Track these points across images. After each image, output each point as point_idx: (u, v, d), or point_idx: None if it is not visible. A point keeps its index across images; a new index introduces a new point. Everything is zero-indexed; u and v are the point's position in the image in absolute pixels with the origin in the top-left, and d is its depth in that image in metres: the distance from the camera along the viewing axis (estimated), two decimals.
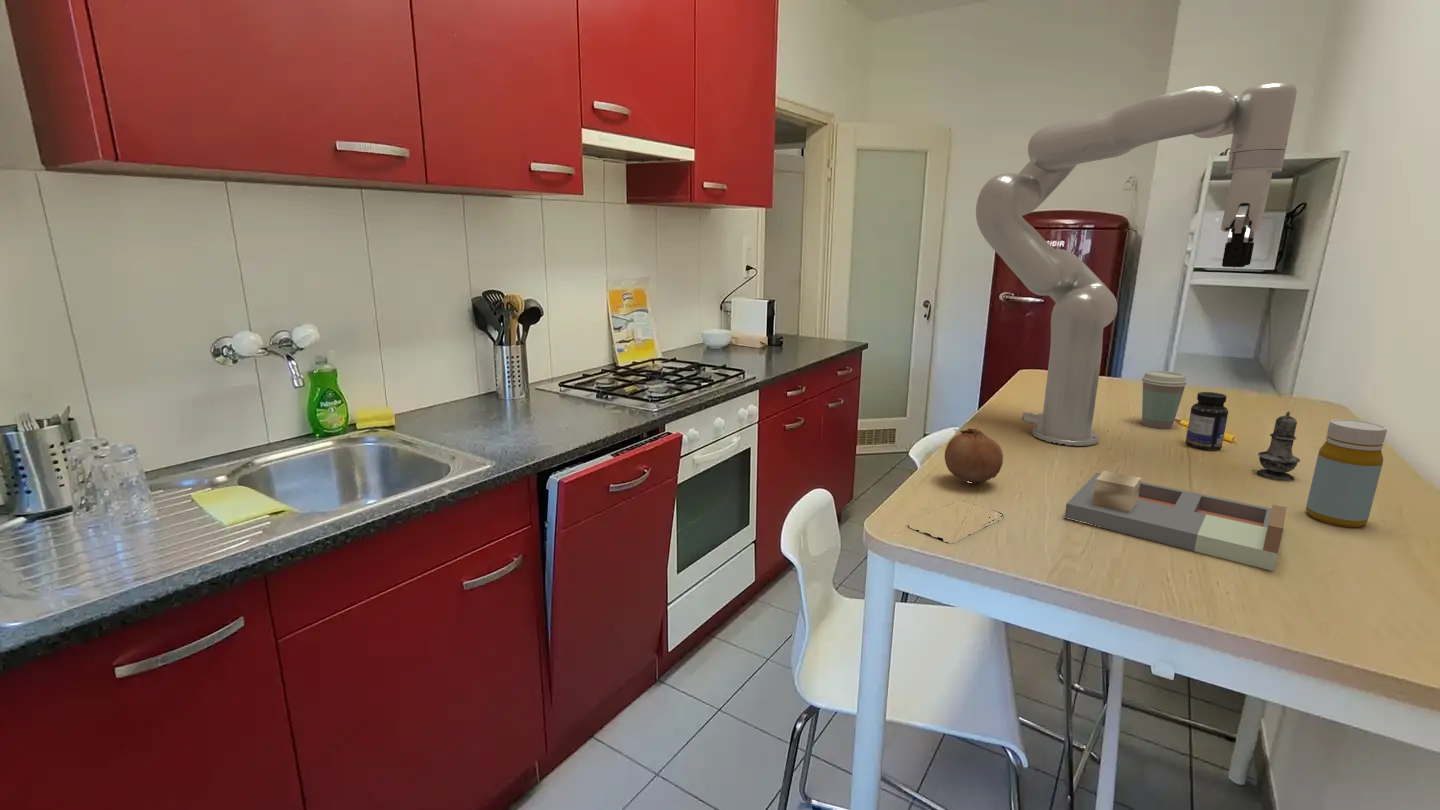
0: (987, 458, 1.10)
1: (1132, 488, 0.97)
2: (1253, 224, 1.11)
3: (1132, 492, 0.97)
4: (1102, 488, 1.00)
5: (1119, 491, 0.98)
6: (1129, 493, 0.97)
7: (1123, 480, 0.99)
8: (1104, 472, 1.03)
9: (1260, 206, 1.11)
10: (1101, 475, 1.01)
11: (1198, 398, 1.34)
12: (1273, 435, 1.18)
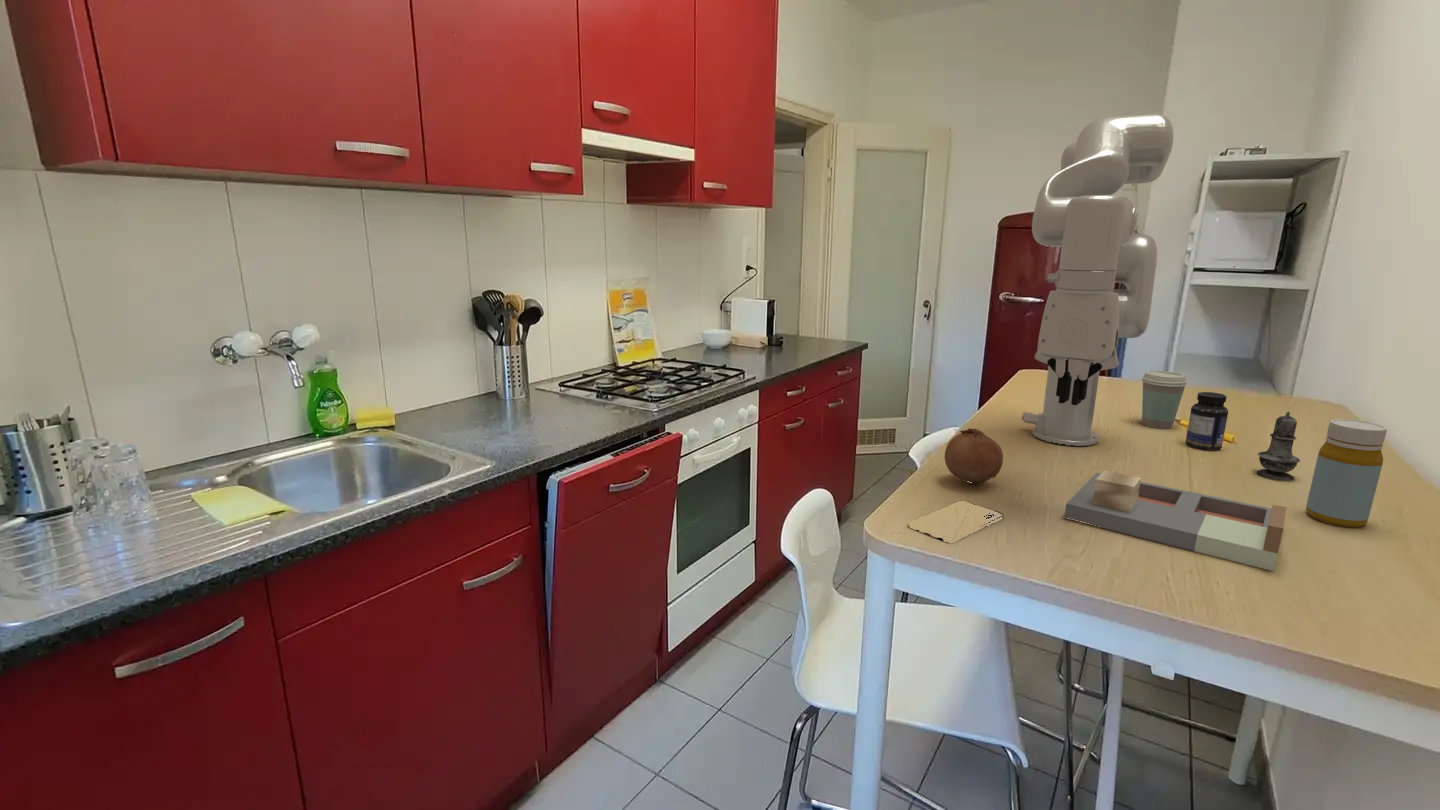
0: (987, 458, 1.10)
1: (1132, 488, 0.97)
2: None
3: (1132, 492, 0.97)
4: (1102, 488, 1.00)
5: (1119, 491, 0.98)
6: (1129, 493, 0.97)
7: (1123, 480, 0.99)
8: (1104, 472, 1.03)
9: None
10: (1101, 475, 1.01)
11: (1198, 398, 1.34)
12: (1273, 435, 1.18)
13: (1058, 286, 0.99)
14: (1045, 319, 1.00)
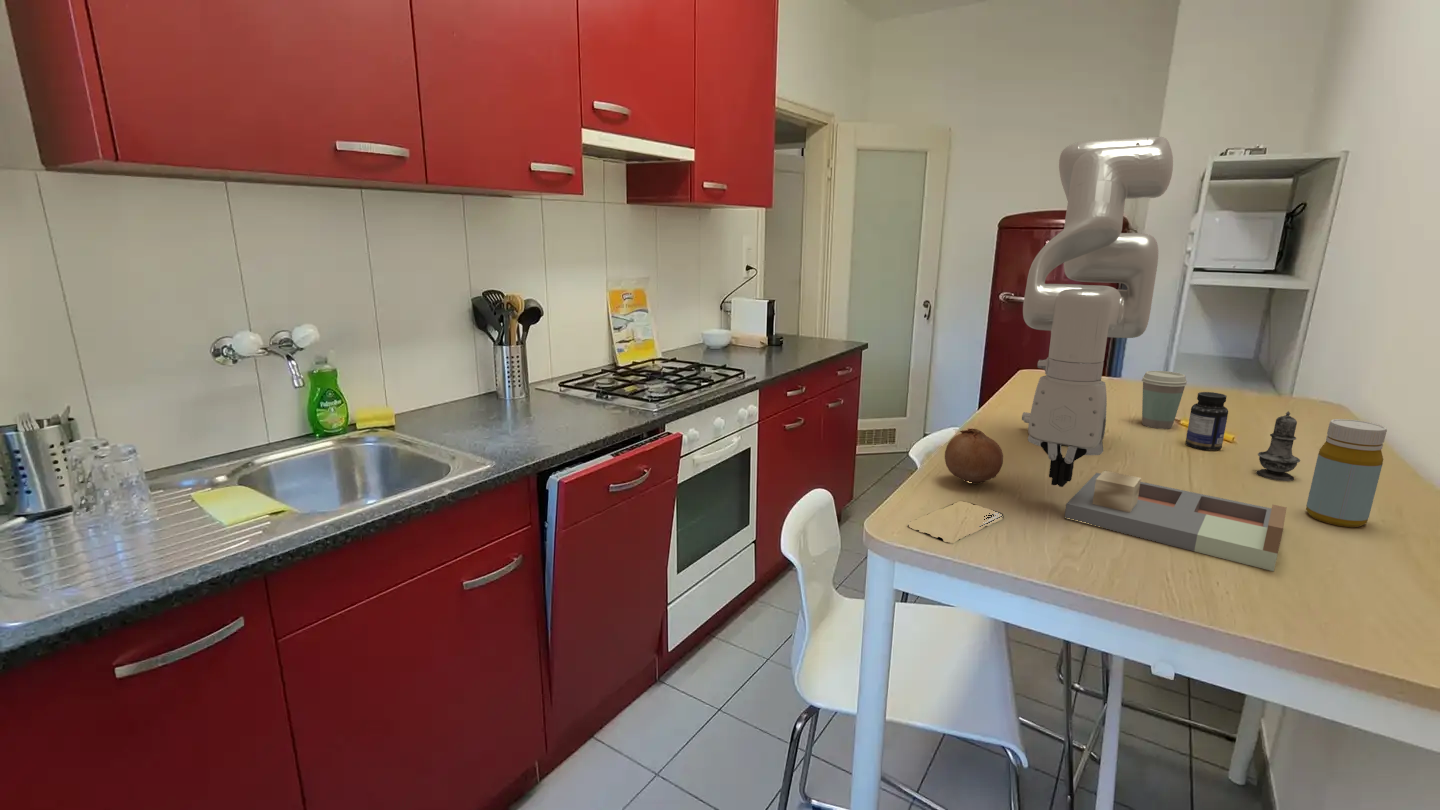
0: (987, 458, 1.10)
1: (1132, 488, 0.97)
2: (1102, 437, 1.02)
3: (1132, 492, 0.97)
4: (1102, 488, 1.00)
5: (1119, 491, 0.98)
6: (1129, 493, 0.97)
7: (1123, 480, 0.99)
8: (1104, 472, 1.03)
9: None
10: (1101, 475, 1.01)
11: (1198, 398, 1.34)
12: (1273, 435, 1.18)
13: (1047, 374, 1.02)
14: (1035, 405, 1.04)
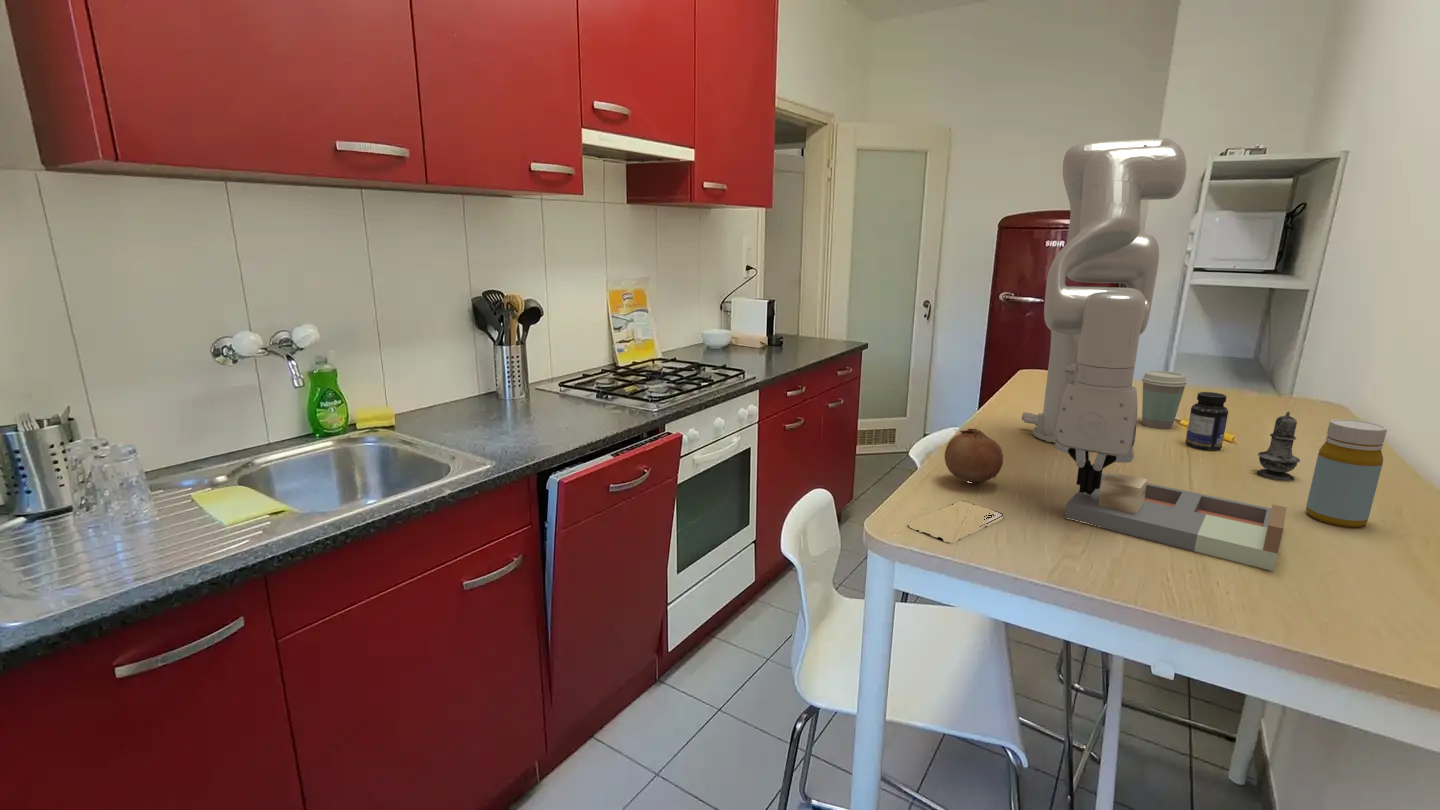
0: (987, 458, 1.10)
1: (1138, 489, 0.96)
2: None
3: (1138, 494, 0.96)
4: (1108, 489, 0.99)
5: (1125, 493, 0.98)
6: (1135, 495, 0.97)
7: (1129, 481, 0.99)
8: (1110, 473, 1.02)
9: None
10: (1107, 476, 1.01)
11: (1198, 398, 1.34)
12: (1273, 435, 1.18)
13: (1076, 379, 0.99)
14: (1063, 411, 1.01)
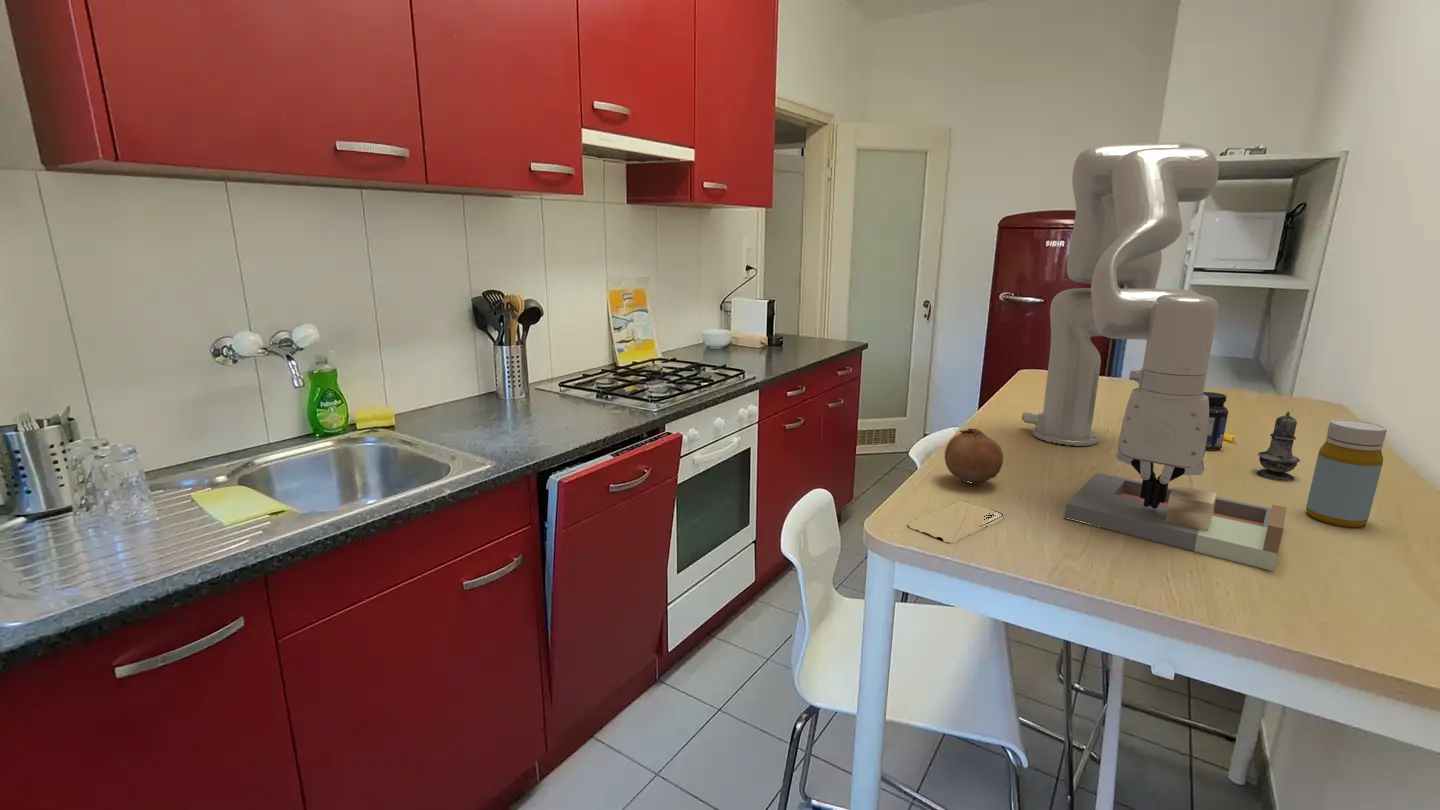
0: (987, 458, 1.10)
1: (1211, 505, 0.91)
2: (1202, 455, 0.94)
3: (1210, 509, 0.91)
4: (1176, 505, 0.93)
5: (1196, 508, 0.92)
6: (1207, 511, 0.91)
7: (1198, 496, 0.93)
8: (1176, 487, 0.96)
9: None
10: (1174, 490, 0.95)
11: None
12: (1273, 435, 1.18)
13: (1142, 386, 0.94)
14: (1127, 420, 0.95)
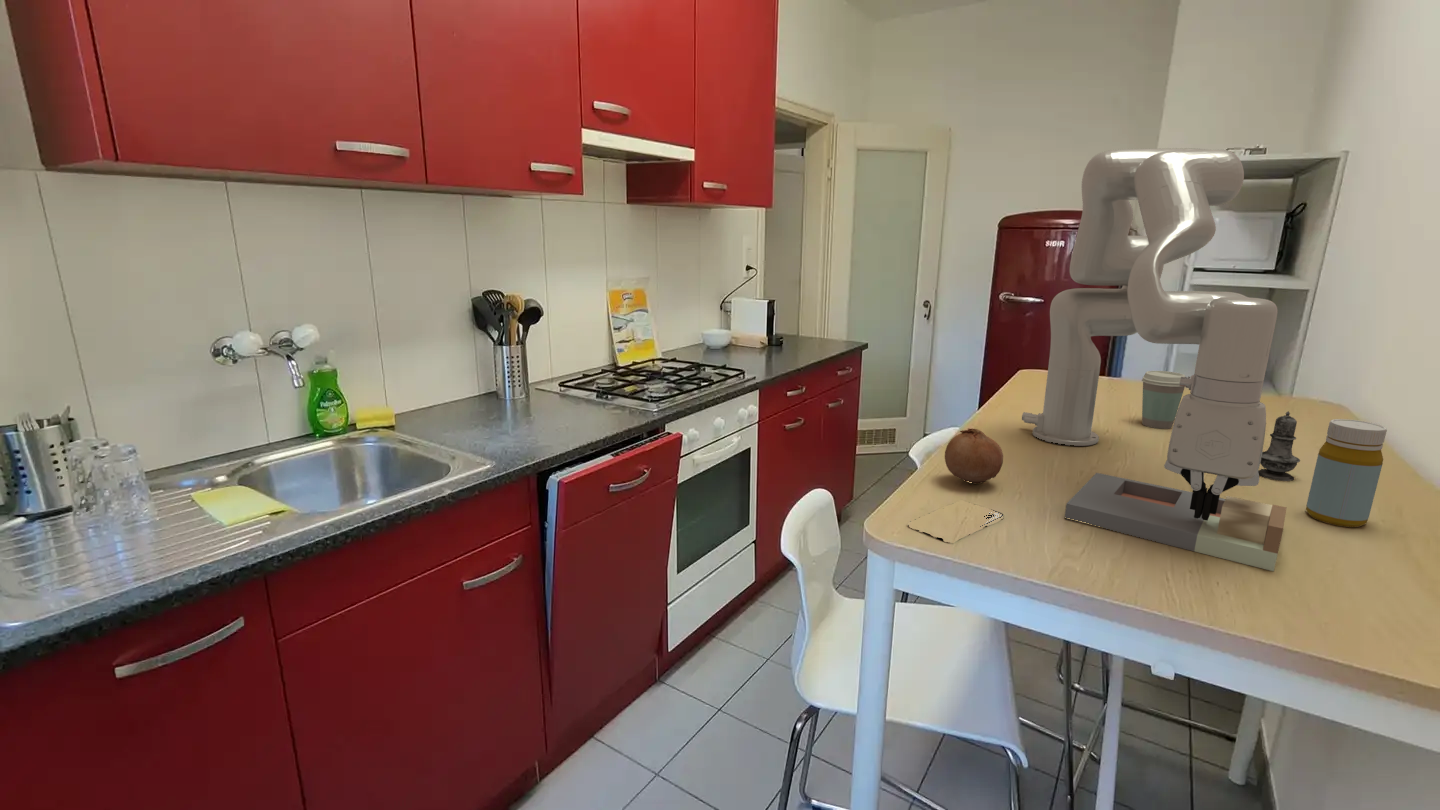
0: (987, 458, 1.10)
1: (1267, 517, 0.87)
2: None
3: (1267, 522, 0.87)
4: (1229, 516, 0.89)
5: (1251, 521, 0.88)
6: (1263, 523, 0.87)
7: (1253, 508, 0.89)
8: (1228, 498, 0.92)
9: None
10: (1226, 501, 0.91)
11: None
12: (1273, 435, 1.18)
13: (1194, 393, 0.90)
14: (1178, 428, 0.92)
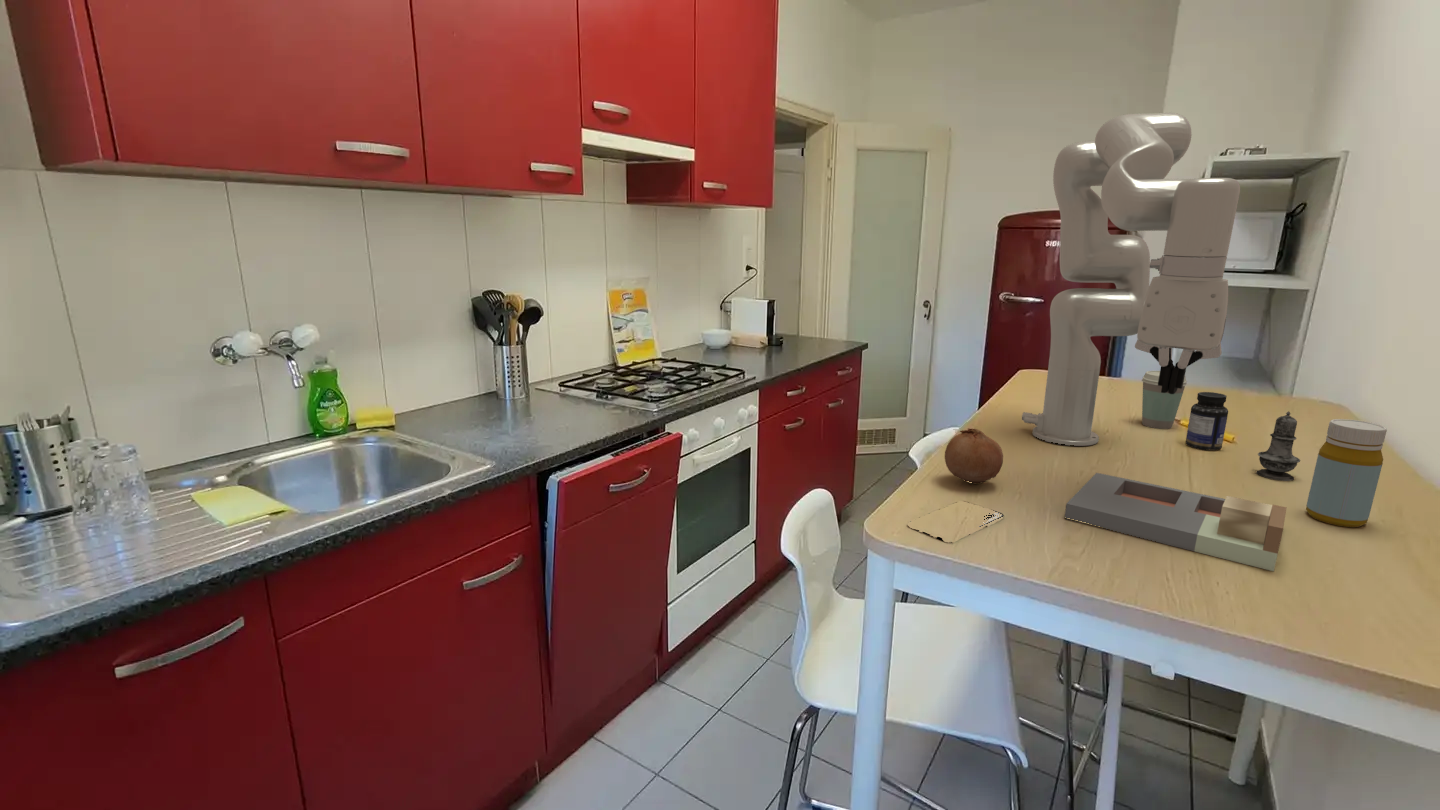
0: (987, 458, 1.10)
1: (1267, 517, 0.87)
2: (1220, 340, 0.96)
3: (1267, 522, 0.87)
4: (1229, 516, 0.89)
5: (1251, 520, 0.88)
6: (1263, 523, 0.87)
7: (1253, 508, 0.89)
8: (1228, 498, 0.92)
9: None
10: (1226, 501, 0.91)
11: (1198, 398, 1.34)
12: (1273, 435, 1.18)
13: (1163, 272, 0.96)
14: (1147, 307, 0.98)
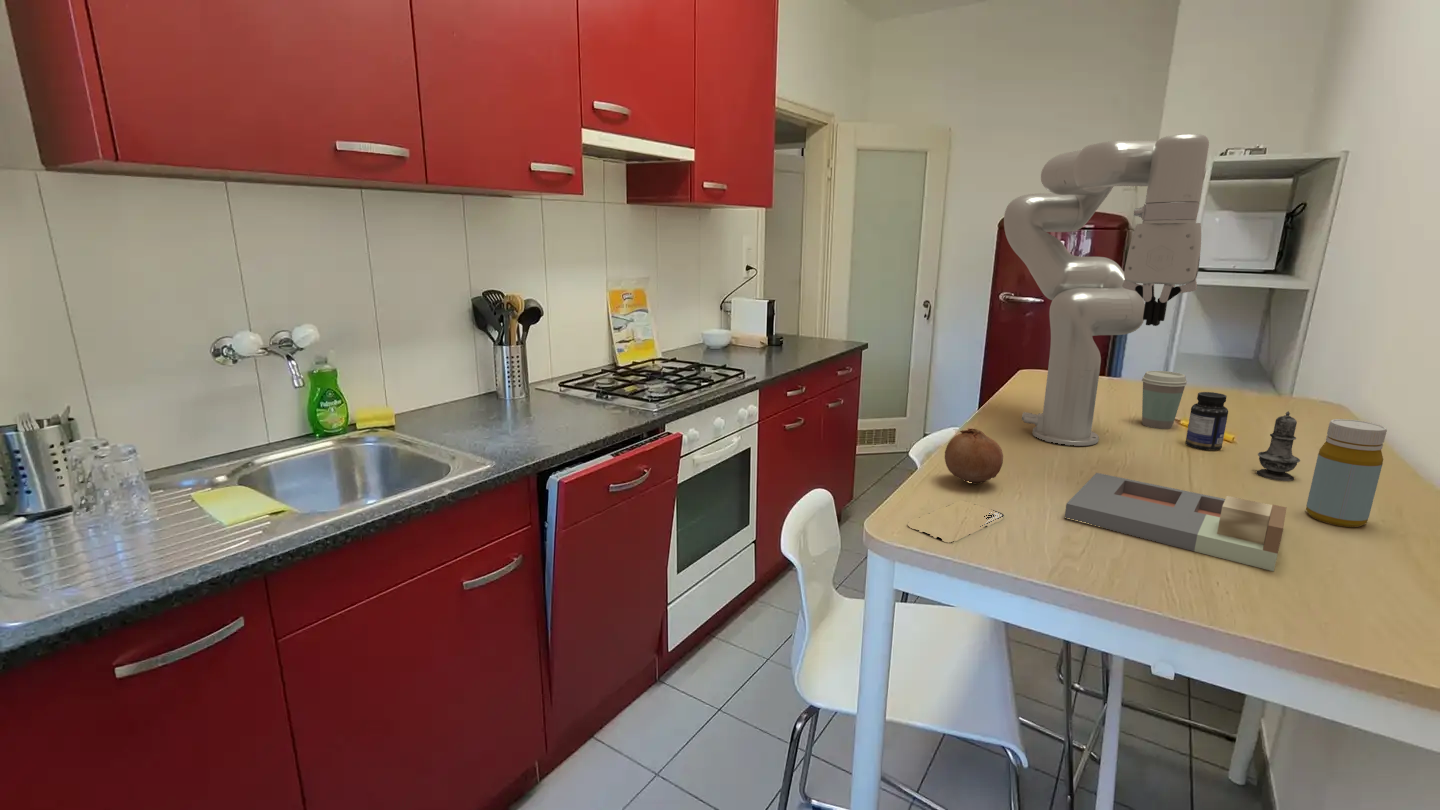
0: (987, 458, 1.10)
1: (1267, 517, 0.87)
2: (1196, 276, 1.11)
3: (1267, 522, 0.87)
4: (1229, 516, 0.89)
5: (1251, 520, 0.88)
6: (1263, 523, 0.87)
7: (1253, 508, 0.89)
8: (1228, 498, 0.92)
9: None
10: (1226, 501, 0.91)
11: (1198, 398, 1.34)
12: (1273, 435, 1.18)
13: (1145, 218, 1.11)
14: (1132, 249, 1.12)
